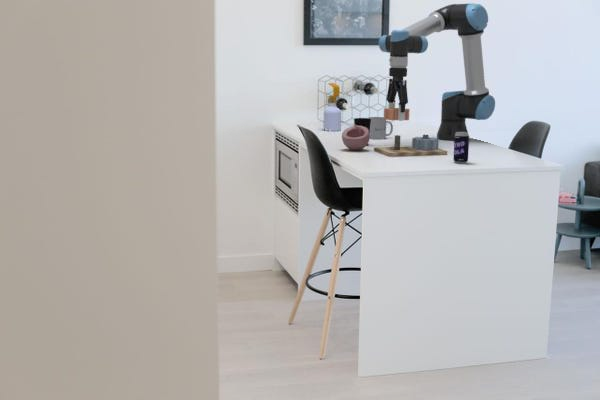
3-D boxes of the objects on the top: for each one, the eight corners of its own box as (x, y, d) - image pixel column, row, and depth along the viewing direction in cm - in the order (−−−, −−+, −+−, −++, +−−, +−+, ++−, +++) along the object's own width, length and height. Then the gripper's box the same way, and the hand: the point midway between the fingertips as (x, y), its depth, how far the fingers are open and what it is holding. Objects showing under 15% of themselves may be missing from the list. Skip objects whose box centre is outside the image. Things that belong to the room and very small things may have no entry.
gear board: (428, 149, 375) (429, 132, 373) (447, 154, 358) (447, 137, 356) (373, 150, 367) (374, 133, 366) (389, 156, 351) (390, 138, 349)
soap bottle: (332, 129, 451) (332, 82, 447) (344, 130, 445) (345, 83, 440) (319, 130, 445) (320, 83, 441) (332, 131, 439) (332, 83, 434)
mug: (369, 139, 408) (370, 118, 406) (366, 137, 416) (367, 117, 414) (394, 139, 409) (395, 118, 407) (391, 137, 417) (391, 117, 416)
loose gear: (403, 118, 370) (403, 107, 369) (413, 120, 360) (413, 109, 359) (379, 118, 367) (379, 107, 366) (388, 120, 357) (389, 109, 356)
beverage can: (451, 161, 338) (453, 131, 336) (465, 161, 339) (467, 131, 337) (455, 163, 333) (456, 133, 330) (469, 163, 333) (471, 133, 331)
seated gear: (424, 146, 372) (424, 136, 371) (443, 149, 364) (444, 138, 363) (406, 148, 365) (407, 138, 364) (425, 151, 357) (426, 140, 356)
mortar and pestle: (337, 151, 366) (338, 124, 364) (346, 147, 377) (347, 122, 375) (364, 152, 362) (365, 126, 359) (372, 149, 373) (373, 123, 370)
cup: (369, 146, 382) (369, 119, 380) (352, 145, 384) (352, 119, 382) (371, 144, 390) (371, 118, 388) (354, 143, 391) (355, 117, 389)
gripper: (380, 66, 370) (378, 116, 374) (400, 68, 347) (398, 121, 351) (396, 66, 372) (394, 116, 376) (417, 68, 349) (415, 121, 353)
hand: (396, 118), depth 363 cm, fingers closed on loose gear, 11 cm apart
